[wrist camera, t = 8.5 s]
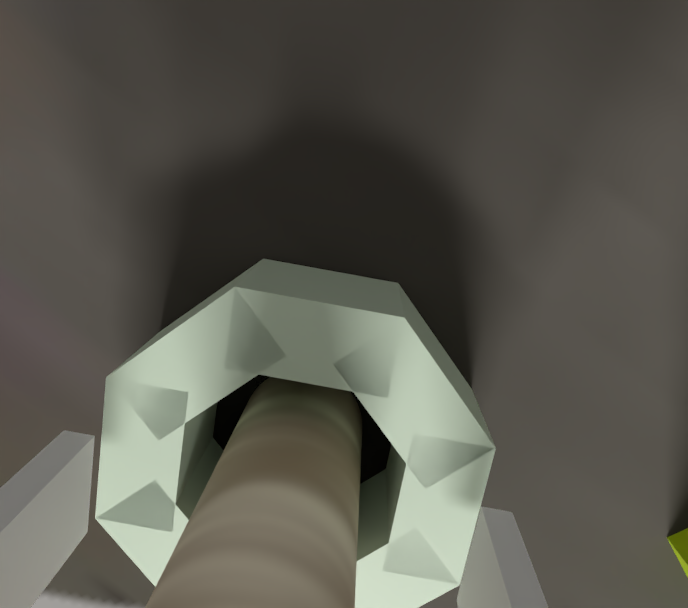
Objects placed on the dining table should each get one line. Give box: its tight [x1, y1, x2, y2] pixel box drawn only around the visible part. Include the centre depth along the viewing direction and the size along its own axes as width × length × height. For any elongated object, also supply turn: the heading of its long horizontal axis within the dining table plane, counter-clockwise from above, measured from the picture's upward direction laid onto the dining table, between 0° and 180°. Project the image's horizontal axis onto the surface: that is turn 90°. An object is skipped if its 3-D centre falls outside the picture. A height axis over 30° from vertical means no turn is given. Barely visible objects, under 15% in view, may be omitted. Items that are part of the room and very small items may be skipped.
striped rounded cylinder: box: [145, 377, 362, 608], centre depth 14 cm, size 4×4×14 cm
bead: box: [95, 259, 496, 608], centre depth 18 cm, size 10×10×4 cm
